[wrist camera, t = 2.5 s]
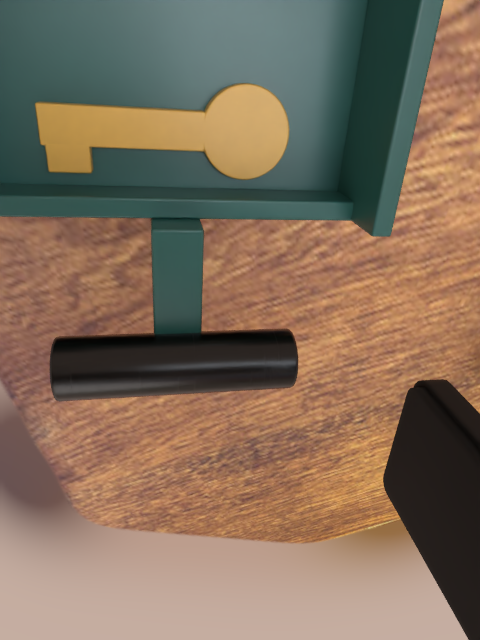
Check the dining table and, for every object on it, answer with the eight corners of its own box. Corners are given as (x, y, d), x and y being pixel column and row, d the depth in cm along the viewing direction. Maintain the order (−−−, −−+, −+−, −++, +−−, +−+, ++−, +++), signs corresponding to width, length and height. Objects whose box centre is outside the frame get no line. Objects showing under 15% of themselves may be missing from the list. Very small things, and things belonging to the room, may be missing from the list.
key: (290, 86, 11) (294, 86, 11) (280, 178, 12) (284, 181, 12) (33, 68, 10) (29, 68, 10) (47, 171, 11) (44, 174, 11)
